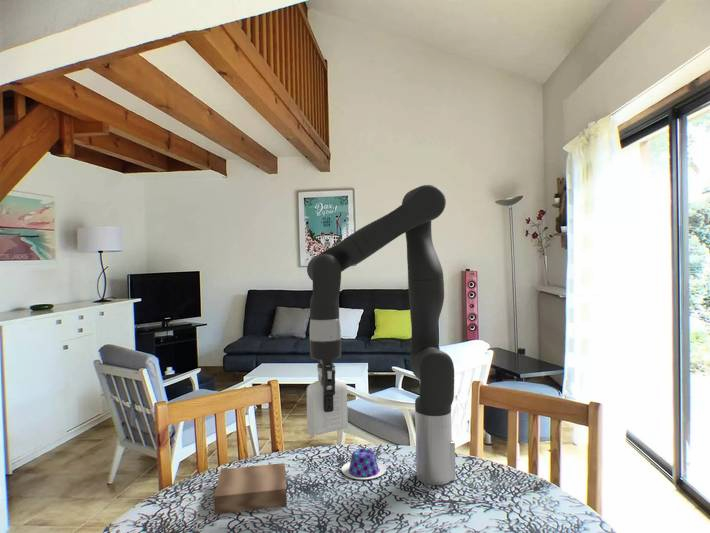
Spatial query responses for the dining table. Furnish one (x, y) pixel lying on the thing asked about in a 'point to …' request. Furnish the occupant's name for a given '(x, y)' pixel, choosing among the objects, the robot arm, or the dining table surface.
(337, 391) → the photo printer
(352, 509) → the dining table surface
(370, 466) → the pudding
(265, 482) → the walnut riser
